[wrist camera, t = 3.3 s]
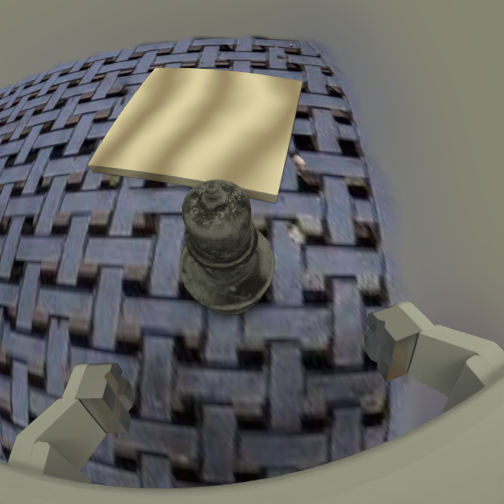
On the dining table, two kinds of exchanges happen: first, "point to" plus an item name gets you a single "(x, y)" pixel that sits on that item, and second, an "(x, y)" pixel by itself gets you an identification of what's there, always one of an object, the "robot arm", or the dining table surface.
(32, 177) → the dining table surface
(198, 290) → the weathered chess pawn
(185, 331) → the dining table surface
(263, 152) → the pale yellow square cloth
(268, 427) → the dining table surface
